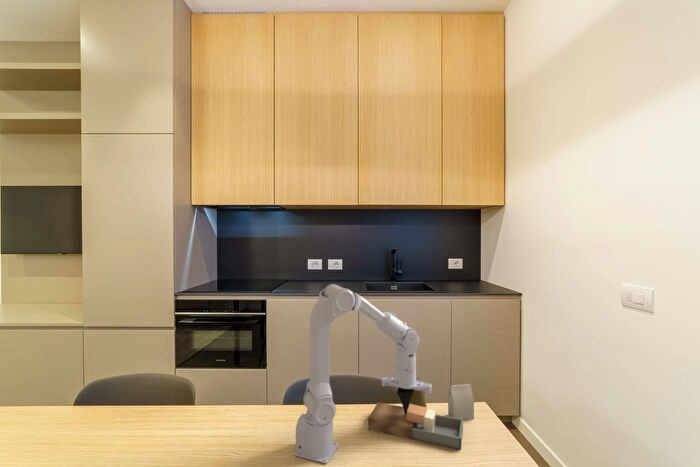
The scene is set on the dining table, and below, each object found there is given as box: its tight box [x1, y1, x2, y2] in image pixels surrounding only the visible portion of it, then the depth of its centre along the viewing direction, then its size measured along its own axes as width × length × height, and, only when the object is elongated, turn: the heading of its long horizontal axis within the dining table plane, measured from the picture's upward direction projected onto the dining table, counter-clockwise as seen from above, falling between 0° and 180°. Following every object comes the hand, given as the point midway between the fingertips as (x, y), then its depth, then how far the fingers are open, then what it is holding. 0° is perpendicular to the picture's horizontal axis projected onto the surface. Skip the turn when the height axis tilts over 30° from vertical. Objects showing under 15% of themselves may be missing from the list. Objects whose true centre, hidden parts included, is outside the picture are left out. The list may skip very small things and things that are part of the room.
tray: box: [411, 414, 464, 451], centre depth 98 cm, size 13×10×3 cm
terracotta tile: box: [406, 404, 428, 425], centre depth 100 cm, size 5×5×2 cm
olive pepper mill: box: [409, 376, 428, 409], centre depth 109 cm, size 6×6×11 cm
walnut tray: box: [367, 402, 415, 440], centre depth 103 cm, size 13×10×4 cm
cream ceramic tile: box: [423, 408, 437, 432], centre depth 99 cm, size 5×5×2 cm
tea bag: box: [447, 383, 475, 421], centre depth 107 cm, size 4×7×10 cm, turn 98°
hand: (406, 412), depth 101 cm, fingers closed
